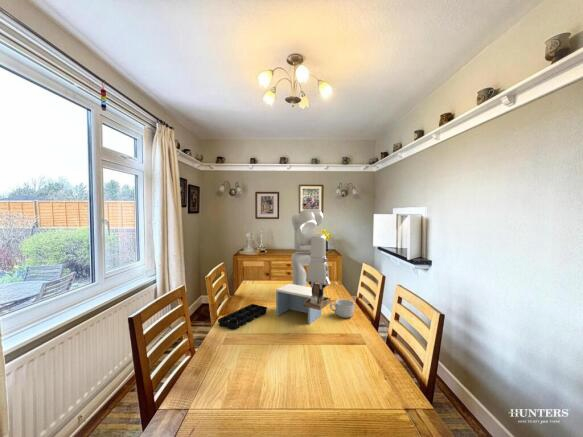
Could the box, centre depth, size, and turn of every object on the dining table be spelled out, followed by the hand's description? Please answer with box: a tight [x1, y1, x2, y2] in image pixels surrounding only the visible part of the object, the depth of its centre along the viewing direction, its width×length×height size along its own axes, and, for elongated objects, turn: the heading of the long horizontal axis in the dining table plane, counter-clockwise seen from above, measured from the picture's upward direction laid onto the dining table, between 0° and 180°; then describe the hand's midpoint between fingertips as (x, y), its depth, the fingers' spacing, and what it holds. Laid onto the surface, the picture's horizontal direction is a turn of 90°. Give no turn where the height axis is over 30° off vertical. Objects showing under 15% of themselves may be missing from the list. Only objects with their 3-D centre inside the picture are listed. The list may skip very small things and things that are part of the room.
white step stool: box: [275, 283, 323, 325], centre depth 152 cm, size 14×22×15 cm, turn 58°
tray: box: [304, 283, 332, 310], centre depth 132 cm, size 12×9×10 cm
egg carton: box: [217, 303, 268, 331], centre depth 147 cm, size 18×30×4 cm, turn 160°
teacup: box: [329, 298, 355, 319], centre depth 152 cm, size 14×11×8 cm
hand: (317, 295), depth 132 cm, fingers closed on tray, 3 cm apart
